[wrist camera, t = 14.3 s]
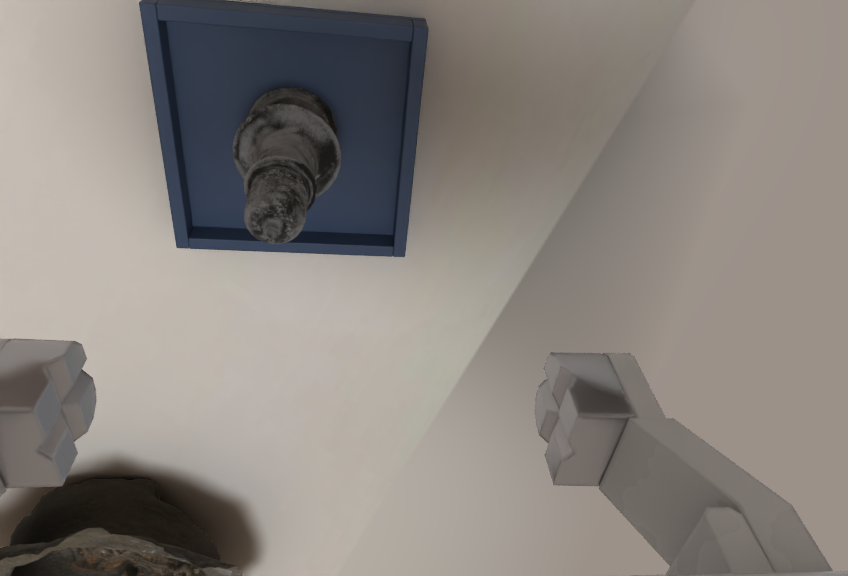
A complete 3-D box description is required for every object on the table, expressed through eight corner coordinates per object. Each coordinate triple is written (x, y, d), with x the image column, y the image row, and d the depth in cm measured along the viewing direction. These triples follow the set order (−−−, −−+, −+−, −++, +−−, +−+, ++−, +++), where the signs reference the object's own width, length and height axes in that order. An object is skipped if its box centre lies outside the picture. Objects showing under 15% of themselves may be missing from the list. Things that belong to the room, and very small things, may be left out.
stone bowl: (62, 411, 50) (22, 516, 42) (311, 504, 63) (313, 597, 56) (-68, 553, 58) (-119, 661, 51) (175, 609, 72) (161, 700, 65)
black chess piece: (220, 116, 36) (171, 221, 27) (302, 61, 35) (281, 152, 25) (284, 191, 40) (260, 310, 30) (361, 144, 38) (362, 253, 29)
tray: (425, 18, 35) (428, 27, 33) (403, 241, 43) (404, 257, 42) (149, -7, 33) (138, 2, 31) (183, 232, 41) (176, 248, 40)
